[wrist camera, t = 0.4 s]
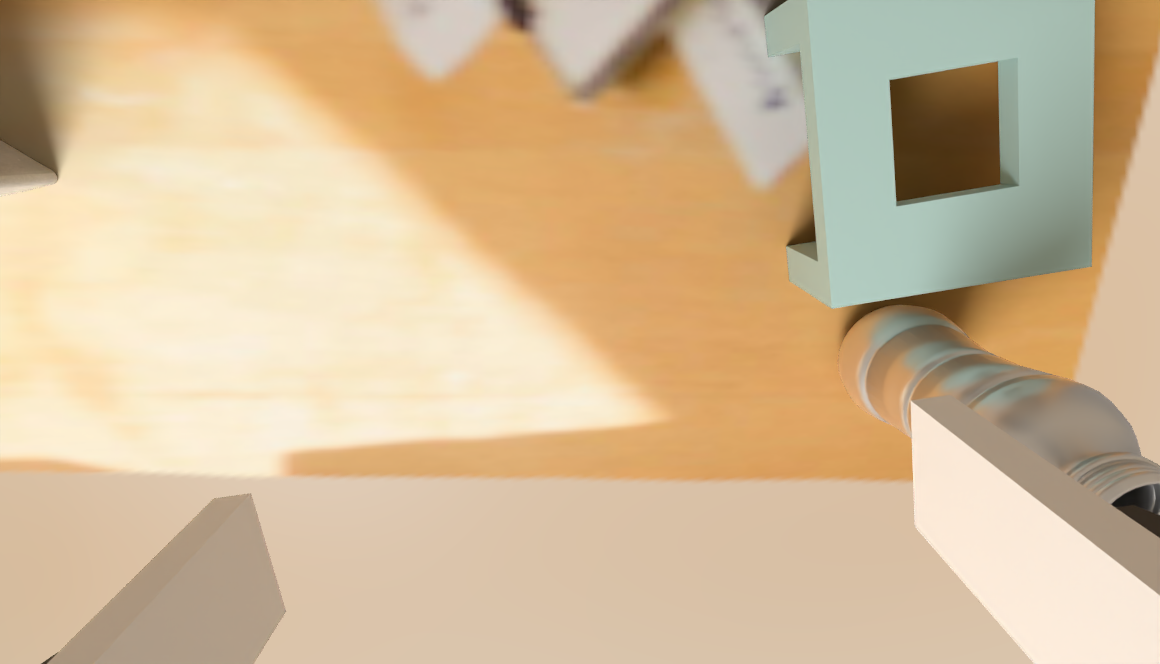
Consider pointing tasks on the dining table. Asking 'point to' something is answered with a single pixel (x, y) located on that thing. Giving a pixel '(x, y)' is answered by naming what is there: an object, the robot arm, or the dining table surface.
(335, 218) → the dining table surface
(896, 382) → the plastic bottle
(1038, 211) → the bridge
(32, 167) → the planter
